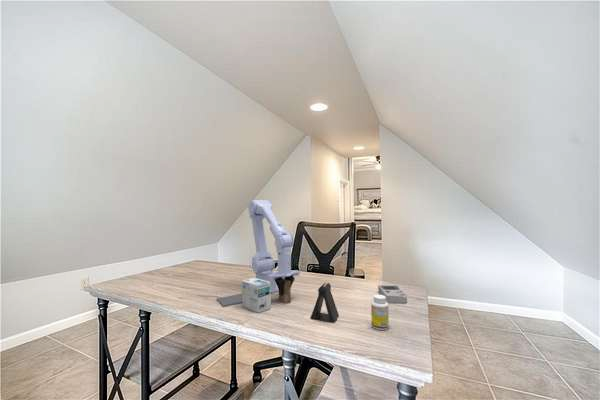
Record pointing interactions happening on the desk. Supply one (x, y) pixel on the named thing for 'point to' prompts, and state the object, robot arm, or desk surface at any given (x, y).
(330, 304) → the black triangular stand
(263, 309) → the light bulb box
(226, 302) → the rubber mat
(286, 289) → the brown rectangular block
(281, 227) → the robot arm
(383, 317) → the supplement bottle
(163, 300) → the desk surface
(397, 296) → the handheld gaming device
